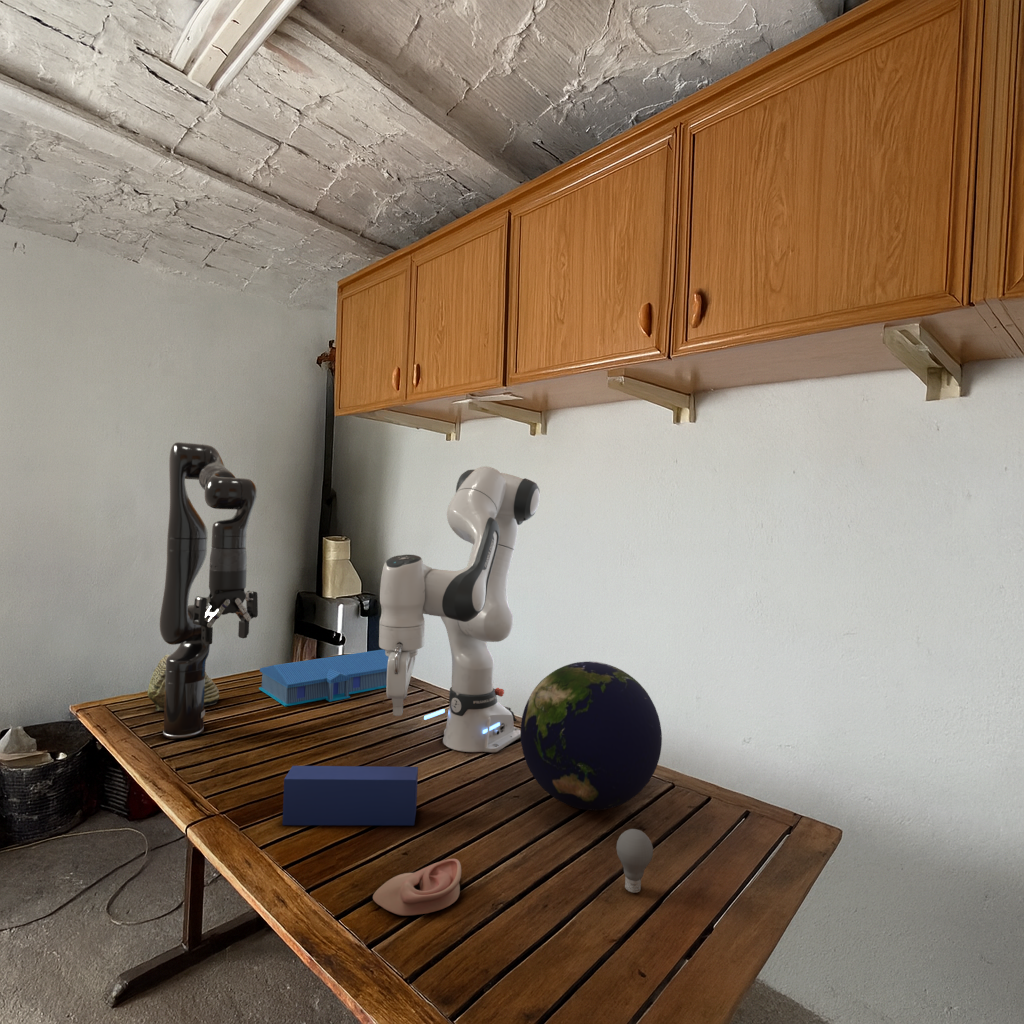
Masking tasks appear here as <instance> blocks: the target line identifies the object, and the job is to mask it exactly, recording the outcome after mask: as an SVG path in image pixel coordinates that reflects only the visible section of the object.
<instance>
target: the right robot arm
mask: <svg viewBox="0 0 1024 1024" xmlns="http://www.w3.org/2000/svg"><path fill="white" fill-rule="evenodd" d="M540 491H541V490H540V488H539V486H538V484H537V482H535V481H533V480H531V479H529V478H521V477H520V476H515V475H513V474H510V473H509V474H508V473H505V472H500V471H499V470H498V469H496V468H494V467H492V466H480V467H477V468H475V469H467V470H466V471H464V472H463V473H461V474H460V475H459V478H458V480H457V482H456V487H455V493H454V494H453V496H452V498H451V500H450V502H449V504H448V507H447V510H446V518H447V519H446V520H447V523H448V525H449V527H450V528H451V530H452V532H454V534H455V535H456V536H457V537H458V538H460V539H462V540H463V541H465V542H467V543H470V544H472V548H471V551H470V554H469V559H468V561H467V566H466V567H465V568H463V569H459V570H448V569H439V568H438V569H437V568H432V567H430V566H428V565H427V564H425V563H424V562H423V561H424V560H423V558H422V557H421V556H419V555H416V554H398V555H394V556H391V557H390V558H388V559H386V560H385V562H384V564H383V567H382V571H381V577H380V585H379V586H380V587H379V603H380V608H381V613H380V617H379V623H378V624H379V627H378V636H379V637H378V647H379V648H380V649H381V650H383V649H384V650H385V655H386V656H388V657H389V658H388V665H387V684H386V689H385V692H386V693H385V694H386V698H387V699H391V703H392V715H393V716H394V717H402V716H403V713H404V700H407V697H408V690H409V686H410V681H411V679H412V674H413V670H414V667H415V661H416V656H417V655H418V653H419V651H418V650H420V649H422V648H423V647H425V618H424V615H429V616H433V617H440V619H441V621H442V623H443V624H444V626H445V629H446V632H447V637H448V641H449V648H450V653H451V662H452V663H451V686H450V688H449V692H448V702H449V706H448V712H447V718H446V726H445V728H444V729H443V739H442V744H443V745H444V746H446V747H447V748H449V749H451V750H454V751H458V752H463V753H465V752H466V753H480V752H481V753H483V752H484V753H498V752H499V751H501V750H502V749H505V748H506V747H507V746H509V745H510V744H512V743H514V742H515V741H516V740H518V739H519V738H520V739H521V729H519V727H515V726H514V725H515V724H514V723H515V722H517V721H518V720H517V718H516V716H515V713H514V712H513V711H512V707H509V706H504V705H503V704H501V703H500V702H499V701H498V697H503V696H504V694H505V690H504V688H500V687H496V688H494V681H495V680H494V679H495V660H494V655H492V653H491V651H490V649H489V646H488V643H487V642H489V643H499V642H502V641H504V640H505V639H507V638H508V637H509V636H510V634H511V633H512V631H513V628H514V625H515V618H514V613H513V611H512V609H511V607H510V605H509V598H508V580H509V574H510V569H511V565H512V560H513V556H514V553H515V548H516V545H517V540H518V533H519V526H520V525H522V524H523V523H524V522H527V521H528V520H529V519H531V518H532V517H533V516H534V515H535V514H536V511H537V510H538V508H539V505H540V500H541V495H540ZM497 696H498V697H497ZM445 710H446V709H439V710H437V711H435V712H432V713H429V714H426V715H424V717H423V720H425V721H426V720H429V719H431V718H434V717H437V716H439V715H442V714H445V712H446V711H445Z"/></svg>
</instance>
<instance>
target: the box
mask: <svg viewBox="0 0 1024 1024" xmlns="http://www.w3.org/2000/svg"><path fill="white" fill-rule="evenodd" d="M418 774H419V767H418V766H375V765H374V766H371V765H370V766H369V765H367V766H366V765H361V766H360V765H358V766H357V765H355V766H354V765H292V766H291V768H290V770H289V771H288V773H287V774H286V776H285V777H284V778H283V799H282V800H283V802H282V803H283V804H282V826H415V824H416V823H415V822H416V815H417V804H418V778H419V775H418Z"/></svg>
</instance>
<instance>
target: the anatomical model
mask: <svg viewBox="0 0 1024 1024" xmlns="http://www.w3.org/2000/svg"><path fill="white" fill-rule="evenodd" d="M461 879H462V864H461V862H460V860H459V859H457V858H448V859H447V858H446V859H444V860H443V859H442V860H440V861H437V862H435V863H432V864H430V865H428V866H425V867H423V868H421V869H419V870H417V871H414V872H404V873H401V874H397V875H395V876H393V877H392V878H390V879H388V880H387V881H385V882H384V883H383V884H382V885H381V886H379V887H378V888H377V890H376V891H375V892H374V893H373V895H372V900H373V902H374V903H376V904H377V905H378V906H380V907H381V908H382V909H384V910H386V911H388V912H390V913H392V914H394V915H397V916H403V917H404V916H405V917H407V916H417V915H423V914H430V913H435V912H437V911H441V910H444V909H445V908H448V907H450V906H451V905H452V904H455V902H456V901H457V900H458V899H459V897H460V893H461V885H460V881H461Z"/></svg>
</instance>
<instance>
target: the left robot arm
mask: <svg viewBox="0 0 1024 1024" xmlns="http://www.w3.org/2000/svg"><path fill="white" fill-rule="evenodd" d="M168 461H169V462H168V468H169V469H168V471H169V474H168V475H169V478H168V479H169V514H168V524H167V538H166V567H165V578H164V579H165V580H164V589H163V595H162V602H161V610H160V613H159V614H160V615H159V632H160V636H161V638H162V640H163V641H164V642H165V643H166V644H168V645H173V646H174V645H175V646H176V645H179V646H178V647H177V648H176V649H175V651H174V652H173V653H170V654H169V655H170V656H169V657H168V658H167V660H166V674H165V705H164V710H163V730H162V737H164V738H166V739H169V740H185V739H190V738H191V739H192V738H194V737H197V736H199V735H202V734H203V732H204V730H205V729H204V727H205V725H204V722H205V721H204V718H205V715H206V709H205V706H204V693H205V672H206V664H207V663H206V662H207V659H208V657H209V653H210V647H211V645H212V644H213V636H214V635H213V634H214V628H213V626H214V623H215V622H216V621H217V620H219V619H220V617H221V616H224V615H228V614H235V615H236V616H237V617H238V618H239V620H238V633H237V635H238V638H241V639H246V638H247V637H248V635H249V634H250V621H251V620H252V619H254V618H257V617H258V616H259V606H258V605H259V603H258V602H259V601H258V592H257V591H253V590H247V591H245V589H246V588H247V571H248V555H247V537H248V527H249V523H250V519H251V515H252V513H253V510H254V506H255V504H256V502H257V501H256V500H257V496H258V489H257V486H256V484H255V483H254V481H253V480H251V479H249V478H245V477H244V478H243V477H241V478H240V477H236V475H234V473H232V472H231V471H230V470H229V469H228V468H227V467H226V466H225V463H224V461H223V459H222V457H221V454H220V452H219V451H218V450H217V449H216V447H214V446H213V445H209V444H204V443H203V444H202V443H192V442H182V441H181V442H180V441H178V442H174V443H173V444H172V446H171V448H170V451H169V460H168ZM186 480H197V481H198V483H199V485H200V487H201V488H202V490H203V491H204V501H205V504H206V505H207V506H208V507H210V508H212V509H215V510H235V511H236V512H235V513H234V515H232V517H230V518H227V519H222V520H217V521H215V522H214V523H213V524H212V528H211V548H210V549H211V550H210V554H209V571H208V573H209V574H208V589H209V594H208V596H199V595H198V596H195V597H194V602H193V603H194V604H190V605H189V600H190V593H191V589H192V585H193V583H194V582H195V580H196V578H197V576H198V574H199V573H200V571H201V569H202V567H203V565H204V563H205V561H206V559H207V553H208V540H209V539H208V537H209V536H208V535H209V533H208V529H207V526H206V524H205V521H204V520H203V519H202V517H201V515H200V514H199V512H198V511H197V510H196V508H195V506H194V505H193V503H192V501H191V499H190V497H189V495H188V491H187V487H186ZM245 601H246V607H245V605H244V604H243V603H244V602H245ZM209 605H210V606H209ZM208 606H209V607H208ZM207 607H208V609H207ZM207 676H208V677H209V675H208V674H207Z"/></svg>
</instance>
